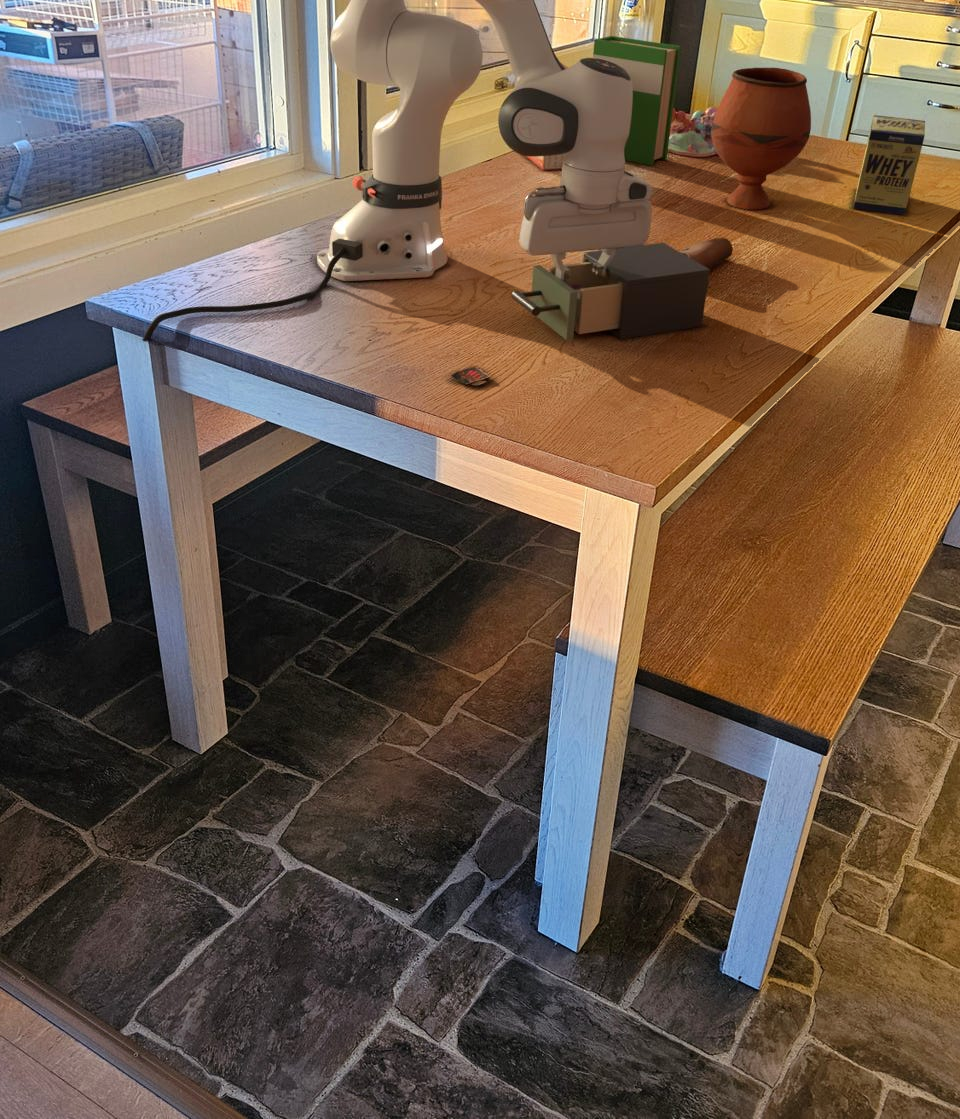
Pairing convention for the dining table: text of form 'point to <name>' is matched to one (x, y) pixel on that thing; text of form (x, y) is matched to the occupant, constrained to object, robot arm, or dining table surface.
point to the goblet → (761, 128)
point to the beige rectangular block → (577, 288)
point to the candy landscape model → (692, 134)
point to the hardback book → (645, 92)
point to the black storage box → (656, 289)
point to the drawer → (573, 300)
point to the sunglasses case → (709, 251)
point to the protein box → (889, 164)
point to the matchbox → (470, 376)
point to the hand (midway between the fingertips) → (580, 277)
